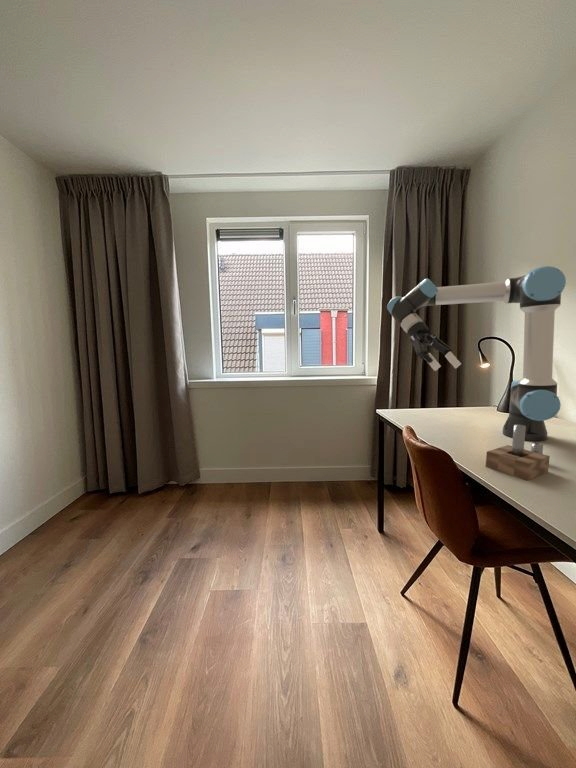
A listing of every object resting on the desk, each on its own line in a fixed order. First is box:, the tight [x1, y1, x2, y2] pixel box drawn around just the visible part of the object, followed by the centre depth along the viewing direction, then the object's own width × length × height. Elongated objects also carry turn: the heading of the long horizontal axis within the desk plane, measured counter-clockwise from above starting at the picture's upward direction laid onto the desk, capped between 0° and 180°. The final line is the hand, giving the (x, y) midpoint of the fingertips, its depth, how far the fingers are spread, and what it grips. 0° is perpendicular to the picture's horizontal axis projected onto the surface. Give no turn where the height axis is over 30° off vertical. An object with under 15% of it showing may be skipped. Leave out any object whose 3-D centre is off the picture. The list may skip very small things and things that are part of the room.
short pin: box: [530, 442, 544, 454], centre depth 109 cm, size 3×3×6 cm
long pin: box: [511, 424, 526, 457], centre depth 103 cm, size 3×3×14 cm
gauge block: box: [485, 444, 550, 481], centre depth 103 cm, size 12×12×5 cm
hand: (448, 367), depth 124 cm, fingers open, 13 cm apart
